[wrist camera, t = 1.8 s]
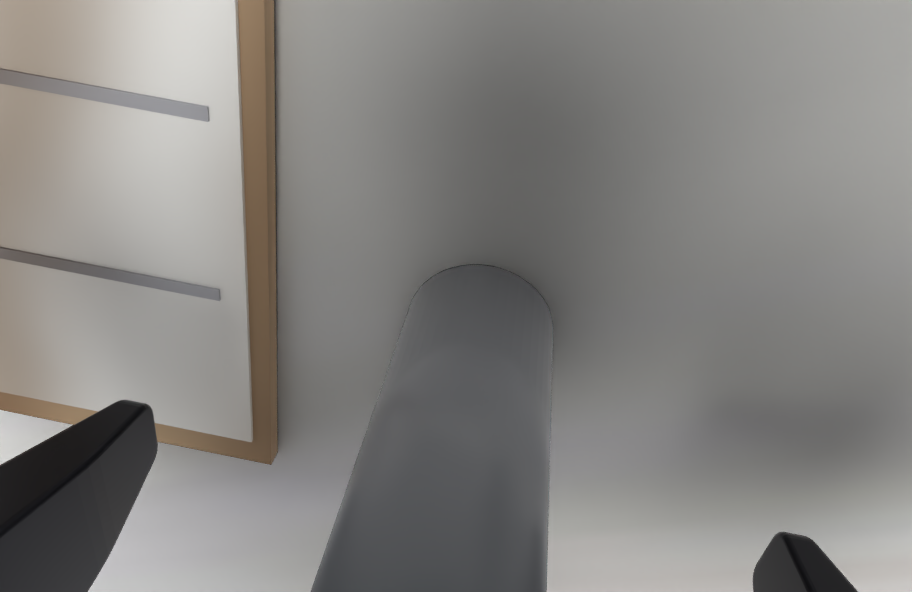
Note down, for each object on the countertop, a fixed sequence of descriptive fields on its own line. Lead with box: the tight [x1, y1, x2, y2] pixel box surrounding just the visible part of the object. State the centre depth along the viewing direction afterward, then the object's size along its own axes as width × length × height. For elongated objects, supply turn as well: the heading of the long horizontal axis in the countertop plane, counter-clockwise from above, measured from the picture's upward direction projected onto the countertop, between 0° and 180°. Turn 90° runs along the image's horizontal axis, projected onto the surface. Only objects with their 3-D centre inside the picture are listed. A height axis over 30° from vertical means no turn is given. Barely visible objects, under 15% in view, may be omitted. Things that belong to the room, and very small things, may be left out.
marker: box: [311, 265, 553, 592], centre depth 9 cm, size 3×3×9 cm
